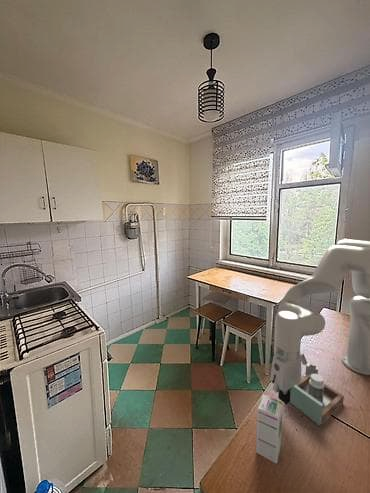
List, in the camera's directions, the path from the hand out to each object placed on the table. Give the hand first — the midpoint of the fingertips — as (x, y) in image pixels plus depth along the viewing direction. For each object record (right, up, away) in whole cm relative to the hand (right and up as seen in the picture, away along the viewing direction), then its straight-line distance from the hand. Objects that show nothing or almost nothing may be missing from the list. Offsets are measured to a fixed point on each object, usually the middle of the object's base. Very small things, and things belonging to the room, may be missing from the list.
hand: (284, 400), depth 72 cm
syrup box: (-9, -7, -10) cm, 15 cm away
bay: (+14, -4, +6) cm, 16 cm away
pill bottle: (+14, -4, +7) cm, 16 cm away
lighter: (+19, -3, +19) cm, 27 cm away
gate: (+7, -5, +2) cm, 9 cm away
